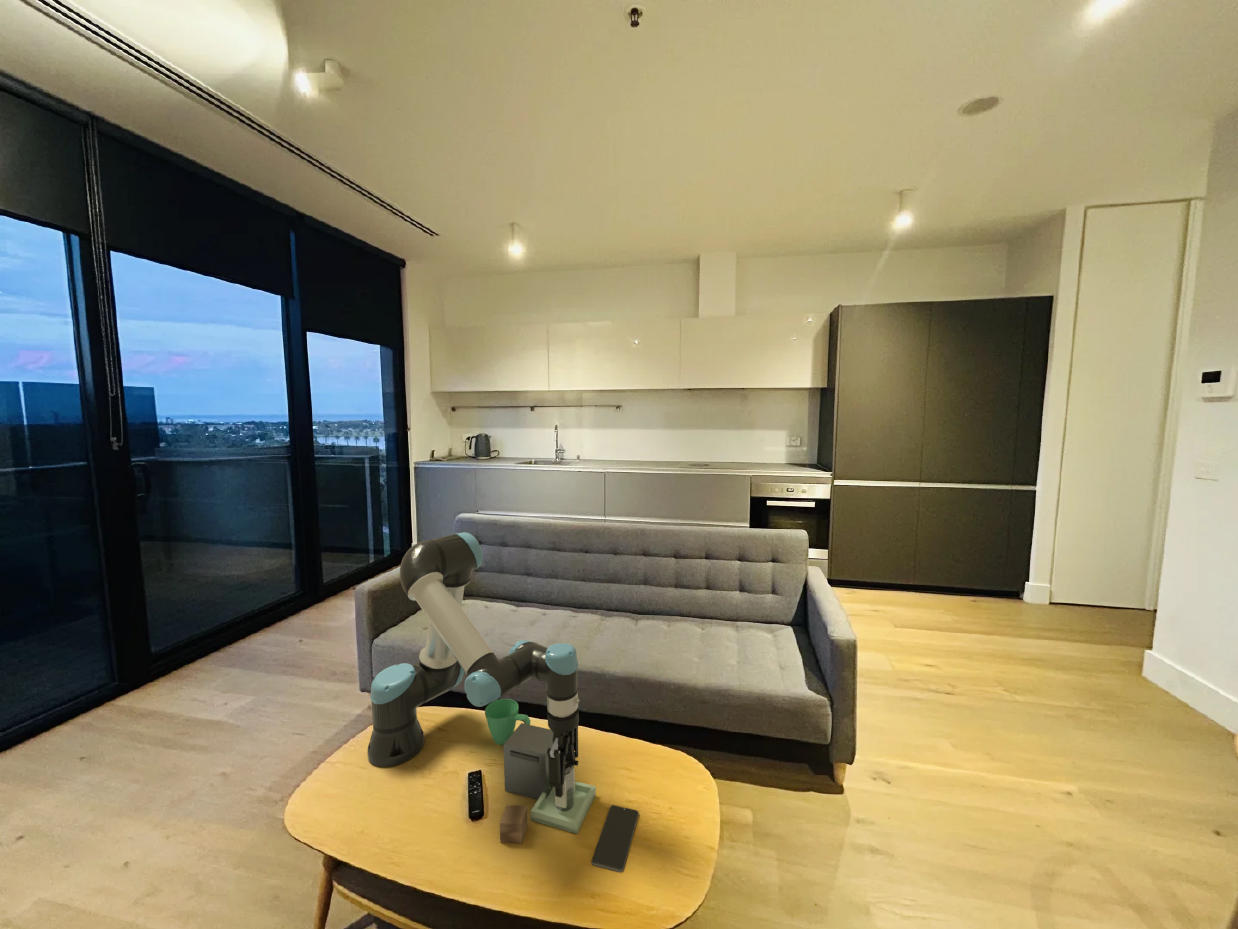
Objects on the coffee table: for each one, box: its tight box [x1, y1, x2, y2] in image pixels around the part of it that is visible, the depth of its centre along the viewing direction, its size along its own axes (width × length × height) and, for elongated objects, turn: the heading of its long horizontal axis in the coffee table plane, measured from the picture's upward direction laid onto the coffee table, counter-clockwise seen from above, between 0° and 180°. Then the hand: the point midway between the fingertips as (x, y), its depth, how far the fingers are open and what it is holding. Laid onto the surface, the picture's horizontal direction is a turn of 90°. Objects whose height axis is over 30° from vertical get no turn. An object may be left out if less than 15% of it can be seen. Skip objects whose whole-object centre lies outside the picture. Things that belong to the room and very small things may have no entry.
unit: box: [503, 722, 554, 801], centre depth 126 cm, size 12×10×13 cm
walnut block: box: [499, 804, 528, 845], centre depth 111 cm, size 5×5×5 cm
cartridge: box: [556, 763, 574, 811], centre depth 118 cm, size 4×4×10 cm
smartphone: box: [590, 804, 640, 873], centre depth 110 cm, size 7×1×16 cm
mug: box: [484, 698, 531, 746], centre depth 142 cm, size 15×10×10 cm
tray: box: [530, 780, 597, 835], centre depth 118 cm, size 12×12×2 cm
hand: (565, 797), depth 118 cm, fingers closed on cartridge, 4 cm apart
